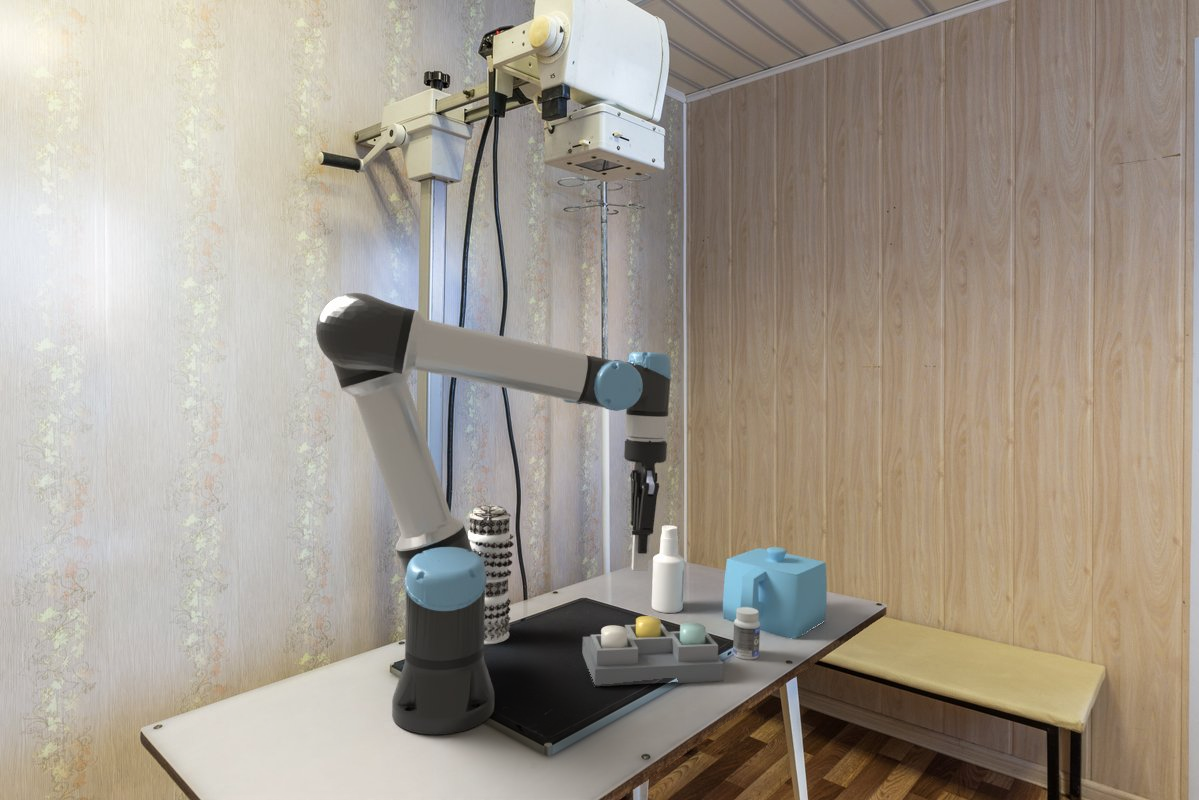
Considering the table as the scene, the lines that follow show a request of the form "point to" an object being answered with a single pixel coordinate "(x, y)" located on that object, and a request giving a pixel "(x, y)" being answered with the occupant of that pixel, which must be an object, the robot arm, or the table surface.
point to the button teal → (692, 634)
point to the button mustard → (648, 627)
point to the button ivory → (613, 637)
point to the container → (776, 590)
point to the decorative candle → (493, 566)
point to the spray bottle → (668, 574)
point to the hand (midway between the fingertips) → (639, 569)
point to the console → (652, 659)
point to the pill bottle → (746, 633)
